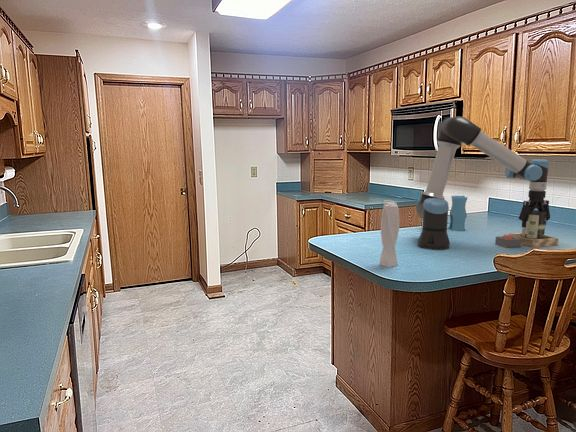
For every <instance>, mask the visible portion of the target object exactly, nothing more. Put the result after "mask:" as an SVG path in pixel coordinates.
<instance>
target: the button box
mask: <svg viewBox="0 0 576 432" xmlns="http://www.w3.org/2000/svg"><path fill="white" fill-rule="evenodd" d="M503 236H504V235H500V236H495V240H494V242H495V244H494V245H497V246H499V247H501V248H502V247H503V248H506V249H507V248H509V249H511V248H512V249H513V248H521V245H522V244H521V239H519V238H515V237H513V239H505V238H503Z"/></svg>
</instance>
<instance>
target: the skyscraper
mask: <svg viewBox="0 0 576 432" xmlns="http://www.w3.org/2000/svg"><path fill="white" fill-rule="evenodd" d="M382 202H383V207H382V212H381V220H380V238H381V245H382V251H381V256H380V260H379V266H383V267H386V268H392V267H395V266H398V258H397V252H396V251H397V250H396V243H397V242H398V241H397V240H398V237H399V233H400V212H399V205H398V204H397V202H396V201H394V200H390V199H385V200H382Z"/></svg>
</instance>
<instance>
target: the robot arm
mask: <svg viewBox="0 0 576 432" xmlns="http://www.w3.org/2000/svg"><path fill="white" fill-rule="evenodd" d="M436 143H437V144H438V148H437V152H436V155H435V159H434V161H433V165H432V169H431V173H430V176H429V179H428V183H427V186H426V190H424V191H423V192H422V193H421V195H420V199H419V200H418V202H417V203H416V208H415V209H416V213H417V215H418V216H419V218H420V219H422V227H421V228H422V229H421V233H420V235H419V237H418V240H417V246H418V247H420V248H423V249H428V250H437V251H438V250H447V249H450V245H451V243H450V239H449V238H450V237H449V235H448V219H449V218H448V217H449V211H450V210H449V202H448V201H447V200H446V198H445V197H444V192H445V188H446V185H447V181H448V178H449V174H450V171H451V169H452V166H453V165H452V164H453V161H454V158H455V154H456V151H457V149H459V148H460V147H462V144H465V145H467V146H469V147H470V146H472V147H473V148H475V149H477V150H478V151H480V152H481V153H483V154H484V155H487V156H488V157H489V158H491V159H492V160H494V161H495V162H497V163H499V164H500V165H502V166H503V167H505V168H504V175H505V177H506V178H507V179H519V180H524V181H525V180H526V181H528V182H529V186H528V189H529V190H528V196H527V197H528V198H529V199H528V200H523V201H522V203H523V204H522V208H521V210H520V214H519V215H518V220H520V221H521V229H522V230H521V233H524V234H527V230H528V221H527V220H528V218H529V213H527V212H532V211H533V210H538V211H540V212H547V214H546V223H545V227H547V221H549V220H550V219H551V213H550V206H549V205H550V200H547V199H546V194H547V193H546V192H547V191H546V189H547V185H548V184H547V182H548V174H549V165H550V163H549V160H547V159H537V158H536V159H531V162H530V161H528V160H526V158H524V157H522V156H520V155H519V154H517V153H516V152H515V151H513V150H511V149H510V148H508V147H507V146H505V145H503V144H502V143H500V142H498V141H497V140H495V139H494V138H492V137H491V136H489V135H488V134H486V133H485V132H483V130H482V128H481V127H479V126H478V125H477V124H476V123H474V122H472V121H471V120H470V119H468V118H467V117H464V116H458V115H457V116H453V117H448V118H446V119H444V120H443V121H442V122H441V123H440V125H439V127H438V137H437V140H436Z"/></svg>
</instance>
